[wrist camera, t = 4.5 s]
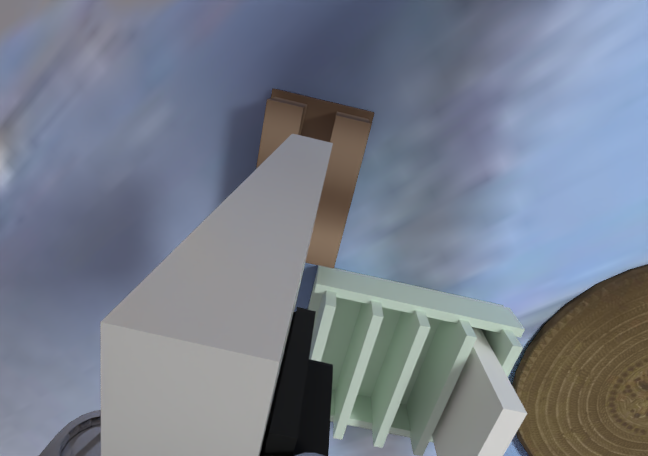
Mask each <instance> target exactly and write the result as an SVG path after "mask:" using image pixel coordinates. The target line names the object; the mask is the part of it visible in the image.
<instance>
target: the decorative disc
mask: <svg viewBox="0 0 648 456" xmlns="http://www.w3.org/2000/svg"><path fill="white" fill-rule="evenodd" d="M512 386H513V388H514V390H515V392H516V394H517V396H518V397H519V399H520V401H521V403H522V405H523V406H524V408H525V410H526V412H527V415H526V417H525V418H524V420H523V422H522V424H521V425H520V427H519V429H518V430H517V432H516V434H517V437H518V439H519V441H520V442H521V444H522V446H523V447H524V449H525V450H526V452H527V453H528V455H529V456H648V264H647V265H644V266H640V267H637V268H634V269H630V270H627V271H625V272H623V273H621V274H618V275H616V276H614V277H611V278H609V279H607V280H604V281H602V282H600V283H598V284H596V285H595V286H593V287H591V288H590V289H588V290H587V291H585V292H584V293H582V294H580V295H579V296H577V297H576V298H574V299H573V300H571V301H570V302H568V303H567V304H566V305H565V306H564V307H562V308H561V309H560V310H559V311H558V312H557V313H556V314H555V315H554V316H553V317H552V318H551V319H550V320H549V321H548V322H547V323H546V324H545V325H544V326H543V327H542V329H541V330H540V331H539V333H538V334H537V335H536V337H535V338H534V339H533V340H532V342H531V343H530V344H529V346H528V347H527V349H526V351H525V353H524V355H523V358H522V360H521V362H520V364H519V366H518V368H517V370H516V373H515V376H514V380H513V383H512Z"/></svg>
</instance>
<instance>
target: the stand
mask: <svg viewBox="0 0 648 456" xmlns="http://www.w3.org/2000/svg"><path fill="white" fill-rule="evenodd" d="M373 117H374V112H371V111H367V110H363V109H358V108H354V107H350V106H346V105H342V104H337V103H333V102H329V101H325V100H321V99H316V98H312V97H308V96H304V95H300V94H295V93H291V92H287V91H283V90H279V89H272V95H271V98H269V99H267V103H266V109H265V116H264V122H263V128H262V135H261V141H260V148H259V154H258V160H257V167H256V169H257V168H258V167H259V166H260V165H261V164H262V163H263V162H264V161H265V160H266V159H267V158H268V157H269V156H270V155H271V154H272V153H273V152H274V151H275V150H276V149H277V148H278V147H279V146H280V145H281V144H282V143H283V142H284V141H285V140H286V139H287V138H288V137H289V136H290V135H291V134H297V135H301V136H305V137H309V138H313V139H317V140H322V141H326V142H330V143H333V146H332V150H331V154H330V158H329V163H328V167H327V171H326V176H325V180H324V184H323V189H322V193H321V197H320V202H319V206H318V210H317V215H316V219H315V223H314V228H313V232H312V236H311V240H310V245H309V249H308V253H307V258H306V263H310V264H315V265H319V266H324V267H328V268H333V269H334V265H335V262H336V258H337V254H338V250H339V246H340V243H341V239H342V235H343V231H344V227H345V224H346V220H347V216H348V212H349V208H350V205H351V201H352V197H353V193H354V189H355V186H356V182H357V178H358V174H359V170H360V167H361V163H362V159H363V155H364V151H365V148H366V144H367V140H368V136H369V133H370V129H371V125H372V121H373Z"/></svg>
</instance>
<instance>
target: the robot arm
mask: <svg viewBox="0 0 648 456" xmlns="http://www.w3.org/2000/svg"><path fill="white" fill-rule="evenodd" d="M315 314H316V311H312V310H308V309H303V308H299V307H297V311H296V312H293V316H292V320H291V324H290V329H289V333H288V337H287V341H286V346H285V350H284V354H283V358H282V362H281V367H280V371H279V375H278V379H277V384H276V388H275V392H274V396H273V400H272V405H271V409H270V413H269V417H268V422H267V426H266V430H265V434H264V439H263V443H262V447H261V452H260V456H328V448H329V431H330V414H331V397H332V380H333V364H329V363H324V362H320V361H315V360H311V359H309V355H310V348H311V341H312V335H313V328H314V321H315ZM39 456H101V410H98V411H93V412H90V413H87V414H84V415H82V416H80V417H78V418H76V419H75V420H73V421H71V422H70V423H68V424H67V425H66V426H65V427H64V428H63V429H62V430H61V431H60V432H59V433H58V434H57V435H56V436H55V437H54V439H53V440H52V441H51V442H50V443H49V444H48V446H47V447H46V448H45V449H44V450H43V451H42V453H41V454H40V455H39Z"/></svg>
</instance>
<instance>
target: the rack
mask: <svg viewBox="0 0 648 456" xmlns="http://www.w3.org/2000/svg"><path fill="white" fill-rule="evenodd" d="M308 310H312V311H316V314H315V321H314V328H313V335H312V341H311V348H310V355H309V359H311V360H315V361H320V362H324V363H329V364H333V380H332V397H331V414H330V421H332V422H334V424H333V438H336V439H341V440H342V439H343V436H344V433H345V430H346V427H347V425H351V426H356V427H361V428H366V429H371V430H372V434H373V446H375V447H380V448H383V445H384V443H385V440H386V438H387V435H388V433H390V434H395V435H400V436H405V437H410V438H411V444H412V449H413V454H414V455H419V456H423V454H424V451H425V449H426V447H427V445H428V443H429V442H434V445H435V449H436V453H437V456H503V455H504V453H505V451H506V450H507V448H508V446H509V444H510V443H511V441H512V439H513V437H514V436H515V434H516V432H517V430H518V429H519V427H520V425H521V424H522V422H523V420H524V418H525V417H526V415H527V412H526V410H525V408H524V406H523V405H522V403H521V401H520V399H519V397H518V396H517V394H516V392H515V390H514V388H513V386H512V385H511V383H510V381H509V379H508V376H509V374H510V372H511V370H512V368H513V366H514V364H515V362H516V361H517V359H518V357H519V355H520V353H521V351H522V349H523V347H522V345H521V344H520V342H519V341H518V339H517V338H516V336H517V337H521V336H522V334H523V332H524V330H525V329H524V327H523V326H522V325H521V323H520V322H519V320H518V319H517V318H516V316H515V315H514V314H513V312H512V311H511V309H510V308H507V307H504V306H503V305H499V304H494V303H490V302H485V301H481V300H476V299H472V298H467V297H463V296H458V295H454V294H449V293H445V292H440V291H436V290H431V289H427V288H422V287H418V286H413V285H409V284H404V283H400V282H395V281H391V280H386V279H381V278H377V277H372V276H368V275H363V274H359V273H354V272H350V271H345V270H341V269H336V268H334V269H333V268H328V267H324V266H319V265H318V269H317V273H316V277H315V281H314V285H313V289H312V293H311V297H310V301H309V305H308Z"/></svg>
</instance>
